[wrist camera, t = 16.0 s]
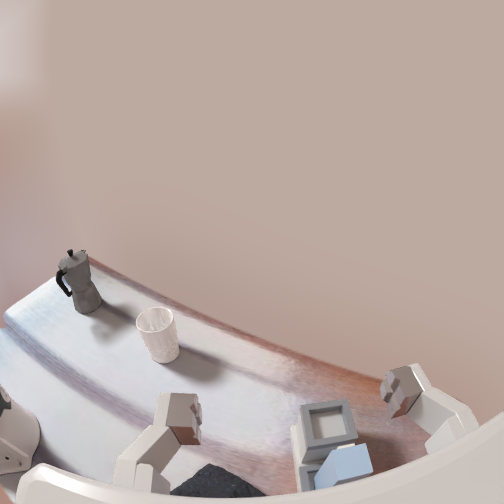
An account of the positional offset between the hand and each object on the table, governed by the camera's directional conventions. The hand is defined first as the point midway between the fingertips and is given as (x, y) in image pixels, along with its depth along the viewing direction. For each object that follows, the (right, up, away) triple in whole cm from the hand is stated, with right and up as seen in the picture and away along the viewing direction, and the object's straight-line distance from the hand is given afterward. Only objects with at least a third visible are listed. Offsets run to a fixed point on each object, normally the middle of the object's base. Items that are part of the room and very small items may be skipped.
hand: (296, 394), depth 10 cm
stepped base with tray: (+9, -28, +23) cm, 37 cm away
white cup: (-21, -16, +46) cm, 54 cm away
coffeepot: (-50, -10, +60) cm, 78 cm away
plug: (+9, -28, +17) cm, 34 cm away
